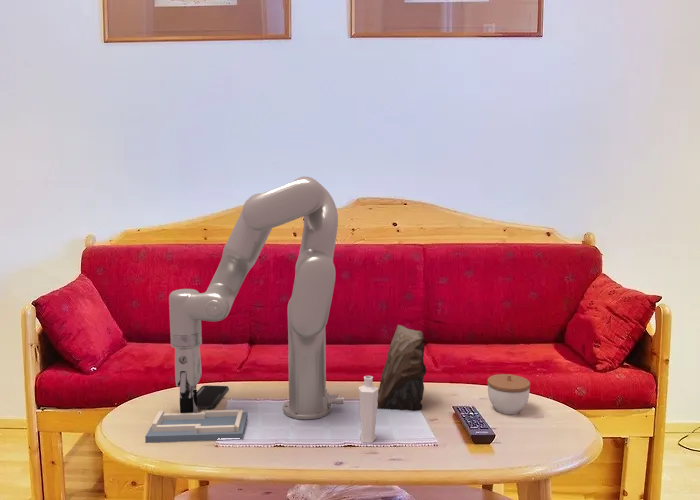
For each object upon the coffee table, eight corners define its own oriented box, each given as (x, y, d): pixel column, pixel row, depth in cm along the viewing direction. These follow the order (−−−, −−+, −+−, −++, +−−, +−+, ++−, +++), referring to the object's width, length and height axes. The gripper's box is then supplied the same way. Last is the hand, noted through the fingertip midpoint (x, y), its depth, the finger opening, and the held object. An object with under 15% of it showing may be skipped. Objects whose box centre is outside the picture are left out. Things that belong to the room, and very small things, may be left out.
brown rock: (390, 391, 170) (390, 322, 167) (434, 398, 165) (435, 327, 162) (374, 408, 158) (375, 334, 156) (421, 416, 154) (423, 339, 151)
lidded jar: (526, 420, 151) (528, 384, 150) (483, 414, 155) (484, 378, 154) (531, 405, 161) (532, 371, 159) (490, 399, 165) (491, 365, 163)
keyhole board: (247, 418, 152) (247, 404, 152) (242, 439, 140) (242, 425, 140) (158, 420, 151) (157, 407, 150) (145, 442, 139) (144, 428, 138)
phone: (184, 405, 158) (202, 385, 173) (184, 410, 158) (203, 388, 173) (213, 406, 157) (230, 385, 172) (213, 411, 157) (230, 389, 172)
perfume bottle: (364, 445, 137) (364, 382, 135) (355, 438, 141) (355, 376, 139) (381, 441, 139) (382, 378, 137) (372, 434, 143) (372, 373, 141)
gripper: (195, 348, 143) (198, 422, 146) (207, 329, 160) (209, 395, 162) (163, 349, 143) (166, 423, 145) (178, 330, 159) (180, 396, 162)
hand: (188, 407), depth 154 cm, fingers closed on rook chess piece, 4 cm apart
